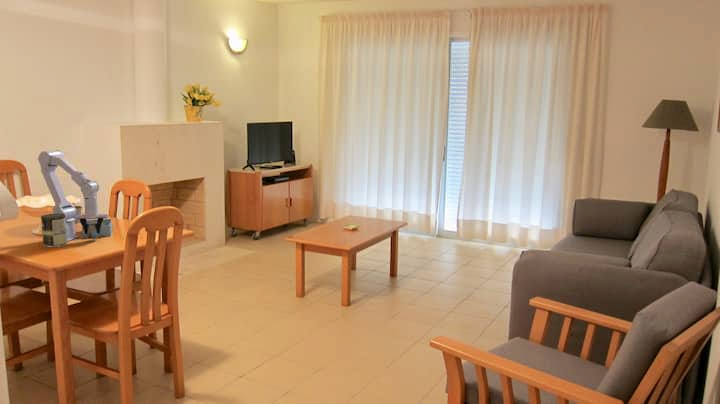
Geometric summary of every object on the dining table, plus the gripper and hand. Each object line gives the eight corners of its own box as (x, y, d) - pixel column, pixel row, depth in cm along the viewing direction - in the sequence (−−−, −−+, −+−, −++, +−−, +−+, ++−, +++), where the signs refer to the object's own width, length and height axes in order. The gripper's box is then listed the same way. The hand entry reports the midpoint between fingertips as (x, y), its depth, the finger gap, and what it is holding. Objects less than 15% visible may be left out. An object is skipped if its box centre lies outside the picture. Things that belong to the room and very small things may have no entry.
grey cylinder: (97, 238, 283) (97, 224, 282) (86, 239, 282) (85, 225, 280) (98, 236, 288) (98, 222, 287) (87, 236, 286) (87, 222, 285)
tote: (110, 236, 295) (110, 225, 294) (82, 237, 291) (81, 226, 290) (113, 228, 311) (112, 218, 310) (86, 230, 307) (85, 220, 306)
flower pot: (87, 221, 329) (86, 206, 327) (75, 224, 320) (74, 209, 318) (73, 220, 331) (72, 205, 330) (61, 223, 322) (60, 208, 321)
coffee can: (41, 248, 270) (39, 218, 268) (44, 242, 279) (42, 214, 277) (66, 246, 274) (64, 217, 271) (68, 241, 283) (66, 213, 281)
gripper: (73, 208, 276) (75, 236, 278) (106, 207, 281) (107, 234, 283) (75, 205, 283) (77, 232, 285) (107, 204, 287) (109, 231, 290)
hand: (92, 233), depth 284 cm, fingers closed on grey cylinder, 5 cm apart
